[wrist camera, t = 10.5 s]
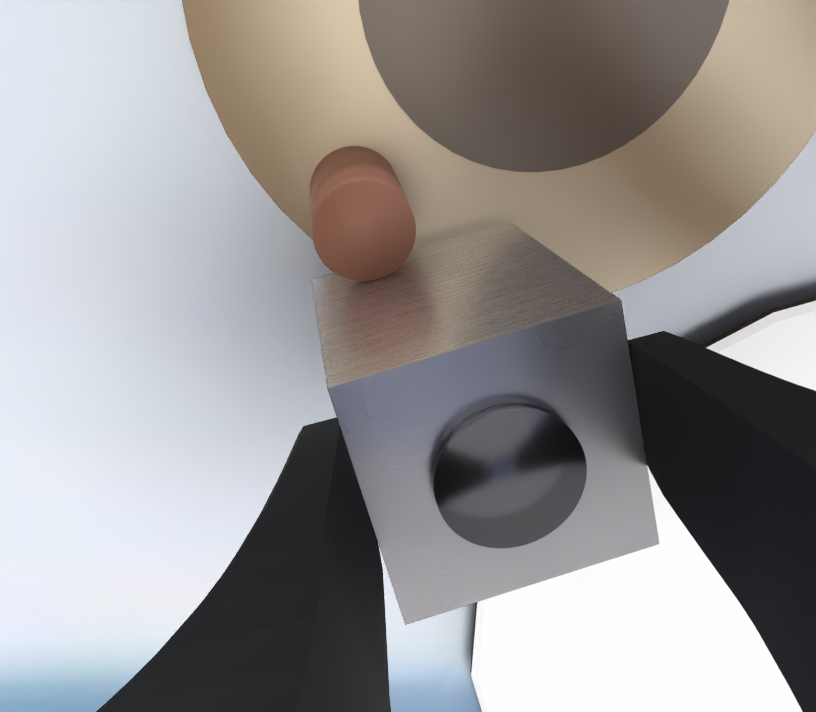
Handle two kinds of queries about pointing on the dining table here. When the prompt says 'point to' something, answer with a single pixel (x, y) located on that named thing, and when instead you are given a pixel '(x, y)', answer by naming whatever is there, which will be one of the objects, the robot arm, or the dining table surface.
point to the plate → (645, 603)
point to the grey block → (487, 417)
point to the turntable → (512, 120)
